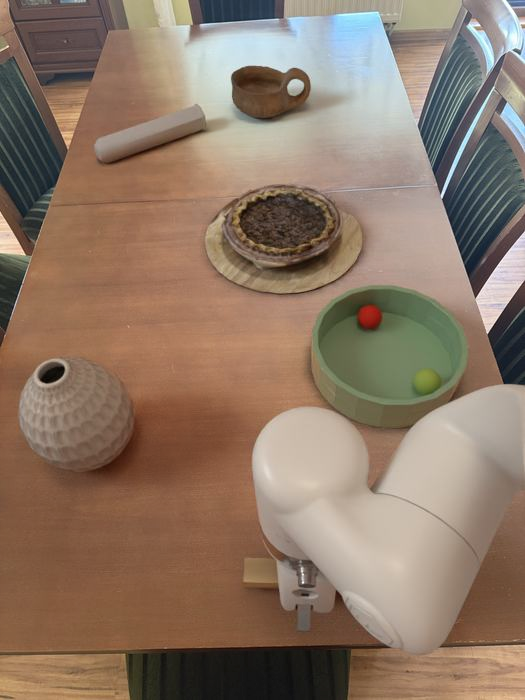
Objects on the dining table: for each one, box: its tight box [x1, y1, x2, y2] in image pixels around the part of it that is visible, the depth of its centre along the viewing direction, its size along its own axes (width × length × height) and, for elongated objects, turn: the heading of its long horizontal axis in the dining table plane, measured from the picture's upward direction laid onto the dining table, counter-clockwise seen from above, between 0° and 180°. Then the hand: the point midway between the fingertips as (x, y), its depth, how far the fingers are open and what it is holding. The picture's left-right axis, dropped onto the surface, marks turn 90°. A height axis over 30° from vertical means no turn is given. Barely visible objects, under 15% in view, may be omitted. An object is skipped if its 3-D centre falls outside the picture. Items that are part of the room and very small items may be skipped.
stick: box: [242, 556, 279, 590], centre depth 55 cm, size 2×12×2 cm, turn 88°
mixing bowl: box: [310, 284, 470, 429], centre depth 71 cm, size 21×21×6 cm
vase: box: [18, 356, 135, 473], centre depth 61 cm, size 13×13×17 cm
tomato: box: [358, 305, 382, 329], centre depth 76 cm, size 4×4×4 cm
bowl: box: [230, 65, 312, 119], centre depth 116 cm, size 18×14×10 cm
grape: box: [413, 369, 441, 395], centre depth 69 cm, size 4×4×4 cm
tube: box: [93, 103, 207, 164], centre depth 111 cm, size 5×5×25 cm
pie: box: [204, 183, 363, 294], centre depth 90 cm, size 28×27×5 cm
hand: (301, 576), depth 55 cm, fingers closed on stick, 2 cm apart
